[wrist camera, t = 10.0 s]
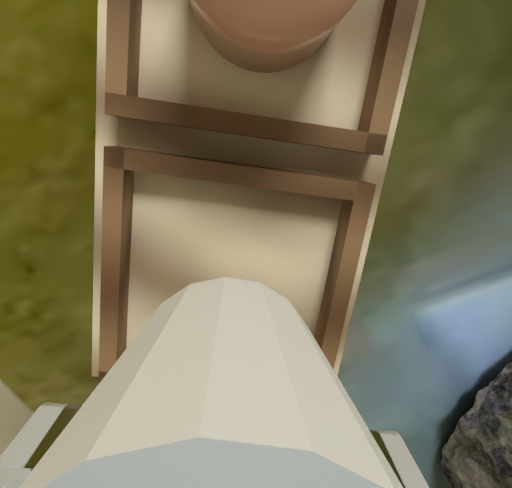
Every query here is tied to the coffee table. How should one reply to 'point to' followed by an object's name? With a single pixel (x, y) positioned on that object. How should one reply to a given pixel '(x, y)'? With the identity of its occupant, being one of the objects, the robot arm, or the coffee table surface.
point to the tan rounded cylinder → (268, 29)
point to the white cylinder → (218, 405)
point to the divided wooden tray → (239, 165)
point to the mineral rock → (483, 439)
